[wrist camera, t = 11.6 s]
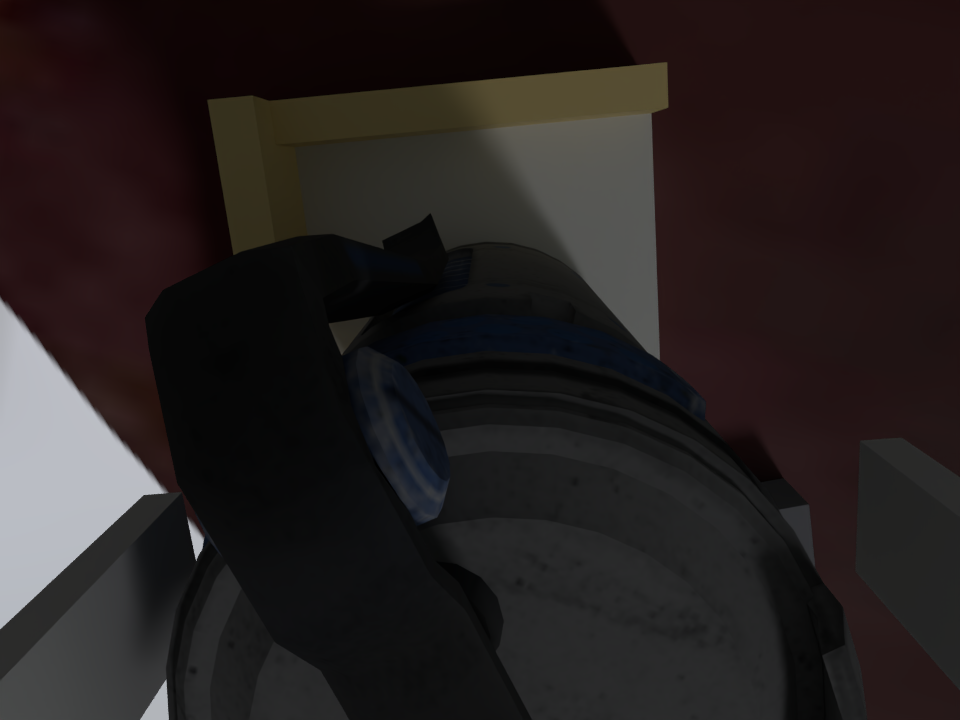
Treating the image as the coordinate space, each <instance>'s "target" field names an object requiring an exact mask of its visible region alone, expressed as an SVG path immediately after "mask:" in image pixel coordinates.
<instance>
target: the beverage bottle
mask: <svg viewBox="0 0 960 720" xmlns="http://www.w3.org/2000/svg"><path fill="white" fill-rule="evenodd" d="M382 243H383V247H384V249H382V248H379V247H375V246H372V245H368V244H365V243H362V242H358V241H355V240H352V239H348V238H345V237H342V236H338V235H335V234H322V235H308V236H297V237H293V238H289V239H286V240H282V241H278V242H274V243H271V244H267V245H263V246H260V247H256V248H252V249H248V250H245V251H241V252H239V253H237V254H235V255H233V256H231V257H229V258H227V259H225V260H223V261H221V262H219V263H217V264H215V265H213V266H211V267H209V268H207V269H205V270H203V271H200V272H198V273H196V274H194V275H192V276H190V277H188V278H186V279H184V280H182V281H180V282H178V283H176V284H174V285H172V286H170V287H168V288H166V289H164V290H163V291H162V292H161V294H160V295H159V297H158V298H157V300H156V301H155V303H154V305H153V306H152V308H151V309H150V311H149V312H148V314H147V315H146V317H145V322H146V330H147V337H148V345H149V351H150V356H151V361H152V366H153V370H154V375H155V380H156V385H157V389H158V394H159V399H160V403H161V408H162V413H163V418H164V422H165V427H166V432H167V437H168V441H169V446H170V451H171V456H172V460H173V465H174V470H175V474H176V479H177V483H178V485H179V487H180V488H181V490H182V491H183V493H184V495H185V496H186V498H187V500H188V501H189V503H190V505H191V506H192V508H193V509H194V511H195V514H196V516H197V518H198V520H199V522H200V524H201V526H202V529H203V531H204V533H205V535H206V536H205V538H204V543H203V549H202V551H201V552H200V554H199V556H198V558H197V561H196V563H195V565H194V568H193V570H192V572H191V575H190V577H189V580H188V582H187V584H186V587H185V589H184V591H183V594H182V596H181V599H180V601H179V603H178V606H177V608H176V611H175V617H174V623H173V629H172V634H171V640H170V646H169V652H168V658H167V664H166V679H167V694H168V712H169V720H867V713H866V706H865V698H864V690H863V683H862V675H861V668H860V665H859V661H858V658H857V654H856V651H855V647H854V644H853V641H852V637H851V634H850V630H849V627H848V623H847V620H846V617H845V613H844V610H843V607H842V605H841V604H840V603H839V602H838V600H837V599H836V598H835V597H834V595H833V594H832V593H831V592H830V590H829V589H828V588H827V587H826V586H825V584H824V583H823V581H822V580H821V578H820V576H819V574H818V572H817V571H816V569H815V567H814V565H813V563H812V562H811V560H810V558H809V556H808V554H807V553H806V551H805V549H804V547H803V545H802V544H801V542H800V540H799V538H798V537H797V535H796V533H795V531H794V529H793V528H792V527H791V526H790V525H789V524H788V522H787V521H786V520H785V519H784V518H783V516H782V515H781V513H780V511H779V509H778V507H777V506H776V504H775V502H774V500H773V498H772V496H771V495H770V493H769V491H768V490H767V489H766V488H765V486H764V485H763V484H762V483H761V482H760V481H759V480H758V478H757V477H756V476H755V475H754V474H753V473H752V472H751V470H750V469H749V468H748V467H747V466H746V465H745V464H744V463H743V461H742V460H741V459H740V458H739V457H738V456H737V455H736V453H735V452H734V451H733V450H732V449H731V448H730V447H729V445H728V444H727V443H726V442H725V441H724V440H723V439H722V437H721V436H720V435H719V434H718V433H717V432H716V431H715V429H714V428H713V427H712V426H711V425H710V424H709V423H708V421H707V420H706V419H705V409H706V402H705V400H704V399H703V398H702V397H701V396H700V395H699V394H698V392H697V391H696V390H695V389H694V388H693V387H692V386H691V385H690V384H688V383H687V382H686V381H685V380H684V379H683V378H682V377H681V376H679V375H678V374H677V373H676V372H674V371H673V370H672V369H671V368H669V367H668V366H667V365H665V364H664V363H662V362H661V361H660V360H658V359H657V358H656V357H654V356H653V355H651V354H649V353H648V352H647V351H646V350H645V349H644V348H643V347H642V345H641V344H640V343H639V342H638V341H637V340H636V339H635V337H634V336H633V335H632V334H631V333H630V332H629V331H628V330H627V328H626V327H625V326H624V325H623V324H622V323H621V322H620V320H619V319H618V318H617V317H616V316H615V315H614V314H613V312H612V311H611V310H610V309H609V308H608V307H607V306H606V305H605V303H604V302H603V301H602V300H601V299H600V298H599V297H598V295H597V294H596V293H595V292H594V291H593V290H592V289H591V288H590V286H589V285H588V284H587V283H586V282H585V281H584V280H583V278H582V277H581V276H580V275H579V274H577V273H576V272H575V271H573V270H572V269H571V268H569V267H568V266H567V265H565V264H564V263H563V262H561V261H560V260H558V259H556V258H554V257H552V256H550V255H548V254H546V253H544V252H542V251H539V250H537V249H534V248H530V247H526V246H522V245H518V244H514V243H503V242H480V243H474V244H467V245H461V246H458V247H455V248H452V249H449V250H447V251H445V248H444V245H443V243H442V240H441V238H440V235H439V233H438V230H437V228H436V225H435V222H434V220H433V217H432V215H431V213H430V214H429V215H428V216H426V217H425V218H424V219H423V220H422V221H421V222H419V223H417V224H415V225H413V226H411V227H409V228H407V229H405V230H403V231H401V232H399V233H397V234H395V235H393V236H390V237H388V238H386V239H384V240H382ZM366 317H371V318H370V319H369V320H368V322H367V323H366V324H365V326H364V327H363V328H362V329H361V331H360V332H359V333H358V334H357V336H356V337H355V338H354V340H353V341H352V342H351V343H350V345H349V346H348V347H347V349H346V350H345V351H344V352H343V354H342V355H341V353H340V350H339V348H338V345H337V343H336V341H335V338H334V336H333V333H332V331H331V329H330V326H329V323H336V322H342V321H348V320H354V319H360V318H366Z"/></svg>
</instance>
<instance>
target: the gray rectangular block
mask: <svg viewBox="0 0 960 720" xmlns="http://www.w3.org/2000/svg"><path fill="white" fill-rule="evenodd" d="M761 483H762V484H763V485H764V486H765V488H766V489H767V490H768V491H769V493H770V495H771V496H772V498H773V500H774V502H775V504H776V506H777V507H778V509H779V511H780V513H781V515H782V516H783V518H784V519H785V520H786V521H787V522H788V524H789V525H790V526H791V527H792V528H793V529H794V531H795V533H796V535H797V537H798V538H799V540H800V542H801V544H802V545H803V547H804V549H805V551H806V553H807V554H808V556H809V558H810V560H811V562H812V563H813V565H814V567H815V562H814V551H813V541H812V531H811V520H810V510H809V504H808V503H807V502H806V501H805V500H804V499H803V498H802V497H801V496H800V495H799V494H798V493H797V492H796V491H795V490H794V488H793V487H792V486H791V485H790V484H789V483H788V482H787V481H786V480H785V479H784V478H782V479H776V480H770V481H765V482H761Z"/></svg>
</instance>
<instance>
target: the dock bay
mask: <svg viewBox="0 0 960 720" xmlns="http://www.w3.org/2000/svg"><path fill="white" fill-rule="evenodd" d="M207 101H208V107H209V113H210V119H211V125H212V131H213V137H214V142H215V148H216V154H217V160H218V166H219V172H220V178H221V184H222V190H223V196H224V202H225V207H226V213H227V219H228V225H229V231H230V237H231V243H232V249H233V255H235V254H237V253H239V252H241V251H245V250H248V249H252V248H256V247H260V246H263V245H267V244H271V243H274V242H278V241H282V240H286V239H289V238H293V237H297V236H308V235H322V234H335V235H338V236H342V237H345V238H348V239H352V240H355V241H358V242H362V243H365V244H368V245H372V246H375V247H379V248H382V249H384V247H383V243H382V240H384V239H386V238H388V237H390V236H393V235H395V234H397V233H399V232H401V231H403V230H405V229H407V228H409V227H411V226H413V225H415V224H417V223H419V222H421V221H422V220H423V219H424V218H425V217H426V216H428V215H429V214H430V213H431V215H432V217H433V220H434V222H435V225H436V228H437V230H438V233H439V235H440V238H441V240H442V243H443V245H444V248H445V251H447V250H449V249H452V248H455V247H458V246H461V245H467V244H474V243H480V242H503V243H514V244H518V245H522V246H526V247H530V248H534V249H537V250H539V251H542V252H544V253H546V254H548V255H550V256H552V257H554V258H556V259H558V260H560V261H561V262H563V263H564V264H565V265H567V266H568V267H569V268H571V269H572V270H573V271H575V272H576V273H577V274H579V275H580V276H581V277H582V278H583V280H584V281H585V282H586V283H587V284H588V285H589V286H590V288H591V289H592V290H593V291H594V292H595V293H596V294H597V295H598V297H599V298H600V299H601V300H602V301H603V302H604V303H605V305H606V306H607V307H608V308H609V309H610V310H611V311H612V312H613V314H614V315H615V316H616V317H617V318H618V319H619V320H620V322H621V323H622V324H623V325H624V326H625V327H626V328H627V330H628V331H629V332H630V333H631V334H632V335H633V336H634V337H635V339H636V340H637V341H638V342H639V343H640V344H641V345H642V347H643V348H644V349H645V350H646V351H647V352H648V353H649V354H651V355H653V356H654V357H656V358H657V359H658V360H660V353H659V324H658V295H657V266H656V237H655V208H654V179H653V150H652V121H651V113H653V112H656V111H659V110H662V109H665V108H668V81H667V62H666V63H655V64H645V65H635V66H624V67H614V68H604V69H593V70H583V71H573V72H562V73H552V74H542V75H531V76H521V77H511V78H500V79H490V80H480V81H469V82H459V83H449V84H438V85H428V86H418V87H408V88H397V89H387V90H377V91H366V92H356V93H346V94H335V95H325V96H315V97H304V98H294V99H284V100H273V101H268V100H265V99H262V98H259V97H256V96H253V95H252V96H242V97H232V98H221V99H211V100H207ZM370 318H371V317H366V318H360V319H354V320H348V321H342V322H336V323H329V326H330V329H331V331H332V333H333V336H334V338H335V341H336V343H337V345H338V348H339V350H340V353H341V355H342V354H343V352H344V351H345V350H346V349H347V347H348V346H349V345H350V343H351V342H352V341H353V340H354V338H355V337H356V336H357V334H358V333H359V332H360V331H361V329H362V328H363V327H364V326H365V324H366V323H367V322H368V320H369V319H370Z"/></svg>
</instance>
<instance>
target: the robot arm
mask: <svg viewBox="0 0 960 720" xmlns="http://www.w3.org/2000/svg"><path fill="white" fill-rule="evenodd" d="M195 563H196V559H195V554H194V549H193V545H192V540H191V535H190V530H189V525H188V520H187V515H186V510H185V505H184V500H183V496H182V492H179V493H166V494H154V495H144V496H143V497H141V498H140V499H139V500H138V501H137V502H136V503H135V504H134V505H133V506H132V507H131V508H130V509H129V510H128V511H126V513H124V514H123V515H122V516H121V517H120V518H119V519H118V520H117V521H116V522H115V523H114V524H113V525H111V526H110V527H109V528H108V529H107V530H106V531H105V532H104V533H103V534H102V535H101V536H100V537H99V538H98V539H97V540H95V541H94V542H93V543H92V544H91V545H90V546H89V547H88V548H87V549H86V550H85V551H84V552H83V553H82V554H80V555H79V556H78V557H77V558H76V559H75V560H74V561H73V562H72V563H71V564H70V565H69V566H68V567H67V568H65V569H64V570H63V571H62V572H61V573H60V574H59V575H58V576H57V577H56V578H55V579H54V580H53V581H52V582H51V583H49V584H48V585H47V586H46V587H45V588H44V589H43V590H42V591H41V592H40V593H39V594H38V595H37V596H36V597H34V599H32V600H31V601H30V602H29V603H28V604H27V605H26V606H25V607H24V608H23V609H22V610H21V611H20V612H19V613H17V614H16V615H15V616H14V617H13V618H12V619H11V620H10V621H9V622H8V623H7V624H6V625H5V626H3V628H1V629H0V720H140V719H141V717H142V716H143V714H144V713H145V711H146V709H147V708H148V706H149V705H150V703H151V702H152V700H153V699H154V697H155V695H156V694H157V692H158V691H159V689H160V688H161V686H162V685H163V683H164V682H165V680H166V664H167V658H168V652H169V646H170V640H171V634H172V629H173V623H174V617H175V611H176V608H177V606H178V603H179V601H180V599H181V596H182V594H183V591H184V589H185V587H186V584H187V582H188V580H189V577H190V575H191V572H192V570H193V568H194V565H195ZM856 572H857V574H858V575H859V576H860V577H861V578H862V579H863V580H864V582H865V583H866V584H867V585H868V586H869V587H870V588H871V590H872V591H873V592H874V593H875V594H876V595H877V596H878V598H879V599H880V600H881V601H882V602H883V603H884V604H885V606H886V607H887V608H888V609H889V610H890V611H891V612H892V614H893V615H894V616H895V617H896V618H897V619H898V620H899V622H900V623H901V624H902V625H903V626H904V627H905V628H906V629H907V631H908V632H909V633H910V634H911V635H912V636H913V637H914V639H915V640H916V641H917V642H918V643H919V644H920V645H921V647H922V648H923V649H924V650H925V651H926V652H927V653H928V655H929V656H930V657H931V658H932V659H933V660H934V661H935V663H936V664H937V665H938V666H939V667H940V668H941V669H942V671H943V672H944V673H945V674H946V675H947V676H948V677H949V679H950V680H951V681H952V682H953V683H954V684H955V685H956V687H957V688H958V689H959V690H960V477H959V476H957V475H956V474H954V473H953V472H951V471H950V470H948V469H947V468H945V467H944V466H942V465H941V464H939V463H938V462H937V461H935V460H934V459H932V458H931V457H929V456H928V455H926V454H925V453H923V452H922V451H920V450H919V449H917V448H916V447H914V446H913V445H911V444H910V443H909V442H907V441H906V440H904V439H903V438H891V439H878V440H865V441H860V460H859V488H858V516H857V544H856Z"/></svg>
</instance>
